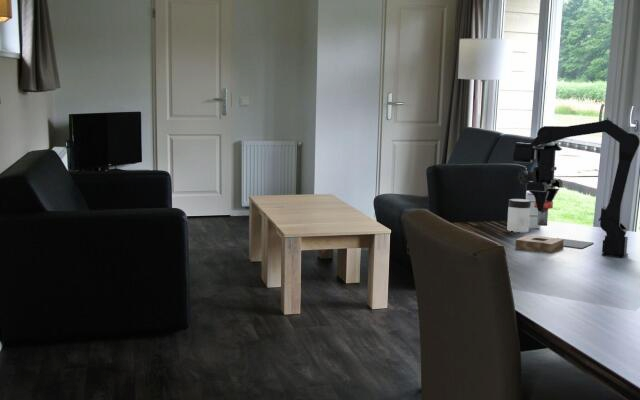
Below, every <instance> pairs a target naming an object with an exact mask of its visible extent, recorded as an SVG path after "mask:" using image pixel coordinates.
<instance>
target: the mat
mask: <svg viewBox="0 0 640 400" xmlns="http://www.w3.org/2000/svg"><path fill="white" fill-rule="evenodd" d="M557 238H558V239H562V238H559V237H557ZM563 239H564V242H563V248H571V249H579V250H583V249H585V248H588V247H591V246H592V245H594V242H591V241H584V240H576V239H575V240H574V239H567V238H563Z"/></svg>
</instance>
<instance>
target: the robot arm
mask: <svg viewBox="0 0 640 400" xmlns="http://www.w3.org/2000/svg"><path fill="white" fill-rule="evenodd" d="M598 133H599V134H600V133H606V134H607V135H608V136H609V137H611V138H612V139H613V140H614V141H616V142H618V143H619V145H618V149H619V150H618V164H617V168H616V172H615V176H614V181H613V185H612V189H611V192H610V197H609V201H608V205H607V206H602V207H601V210H600V216H599V217H600V218H598V222H599V221H600V223H599V225H600V228H601V229H602V231H604V232H605V233H606V235H604V239H603V240H602V245H601V246H602V247H601V253H602V254H601V255H602V256H605V257H606V256H607V257H614V258H623V259H624V258H625V257H627V256H628V255H629V254H628V253H627V252H628V251H627V250H628V236H626V234H627V231H628V229H627V227H626V226H625V225H624V224H623V223H622V203H623V198H624V195H625V192H626V186H627V184H628V179H629V174H630V170H631V166H632V163H633V160H634V158H635V157H636V154H637V151H638V149H639V147H640V136H639V135H638V134H636V133H634V132H629V131H626V130H625V129H624V128H622V127H620V126H619V125H618V124H616V123H614V121H613V120H611V119H604V120H601V121H594V122H587V123H581V124H576V125H575V124H574V125H568V126H567V125H561V126H560V125H545V126H542V127H540V128H539V129H538V130H537V133H536V134H537V135H536V137H535V138H534V140H532V142H530V143H526V142H520V141H519V142H517V141H516V142H515V146H514V151H513V154H512V155H513V156H512V157H513V163H520V164H521V163H524V164H525V163H526V164H532V163H533V161H536V166H534V167H533V169H532V170H533V171H529V172H528V171H526V170H522V171H519V173H518V175H517V180H518V181H520V182H519V183H520V185H525V191H529V192H531V193H532V194H533V195H534V197H535V200H536V205H537V209H538V211H542V209H543V206H544V204H545V201H546V200H548V201H552V202H554V199H555V197H556V195H557V194H558V192H559V191H560V188H563V180H562V179H561V178H555V171H557V166H556V165H555V164H556V152H558V151H559V152H560V151H562V150H563V149H562V146H560V145H559V144H558V141H561V140H564V139H567V138H572V137H579V136H585V135H591V134H598ZM553 143H554V145H550V144H553ZM544 144H545V145H544ZM542 145H543V147H539V146H542Z"/></svg>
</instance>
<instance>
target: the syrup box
mask: <svg viewBox="0 0 640 400" xmlns="http://www.w3.org/2000/svg"><path fill="white" fill-rule="evenodd" d="M525 191H526V192H525V199H526V200H530V201H531V206H530V207H531V208H530V225H529V229H532V228H540V229H541V226H540V225H537V221H538V209H537V208H535V207H534V201H536V200H535V197H534V195H533V194H532V193H531V192H529V190H525Z"/></svg>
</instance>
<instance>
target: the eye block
mask: <svg viewBox="0 0 640 400" xmlns="http://www.w3.org/2000/svg"><path fill="white" fill-rule="evenodd" d="M558 238H559V237H556V238H555V237H549V236H539V235H534V234H533V235H532V234H528V235H524V236H523V237H519V238H517V239H515V245H514V246H515V249H517V250H526V251H530V252H531V251H533V252H538V253H545V254H546V253H547V254H553V253H555V252H557V251H559V250H562V249H564V247H563V242H564V239H565V238H561V239H558Z"/></svg>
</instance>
